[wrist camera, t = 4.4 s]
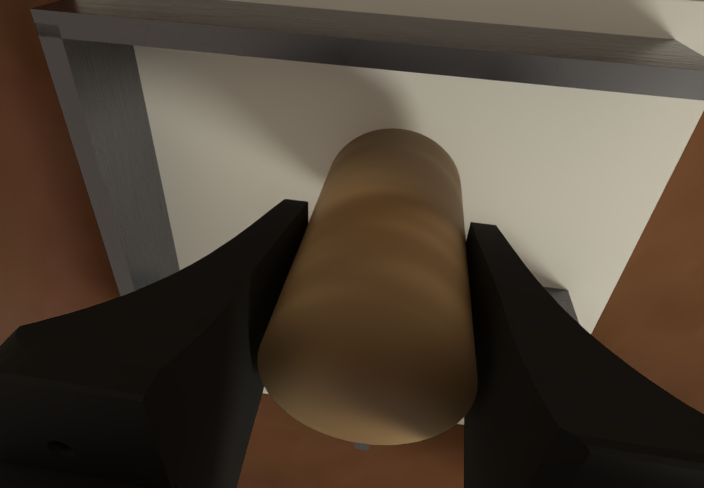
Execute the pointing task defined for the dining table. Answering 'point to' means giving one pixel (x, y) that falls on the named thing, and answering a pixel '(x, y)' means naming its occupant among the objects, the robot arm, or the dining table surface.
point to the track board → (432, 137)
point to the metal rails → (295, 45)
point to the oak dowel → (378, 299)
